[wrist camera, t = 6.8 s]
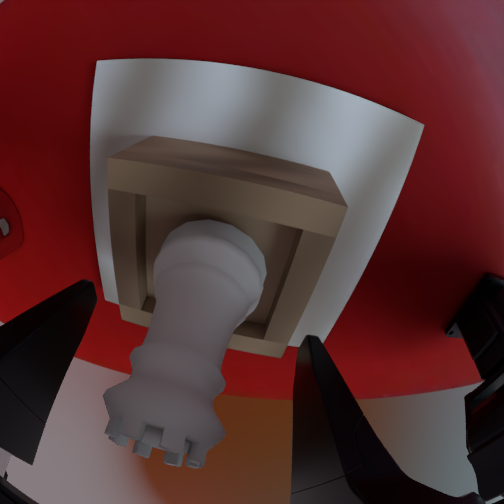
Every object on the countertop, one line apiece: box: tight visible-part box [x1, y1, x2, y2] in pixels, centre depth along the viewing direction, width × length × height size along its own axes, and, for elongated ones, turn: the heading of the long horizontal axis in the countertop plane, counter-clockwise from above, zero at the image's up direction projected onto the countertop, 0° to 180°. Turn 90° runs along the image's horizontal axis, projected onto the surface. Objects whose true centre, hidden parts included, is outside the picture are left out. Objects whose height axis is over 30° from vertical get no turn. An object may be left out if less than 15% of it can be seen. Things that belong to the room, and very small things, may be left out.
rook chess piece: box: [103, 219, 267, 468], centre depth 8 cm, size 4×4×8 cm
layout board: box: [90, 59, 424, 358], centre depth 13 cm, size 16×16×5 cm
